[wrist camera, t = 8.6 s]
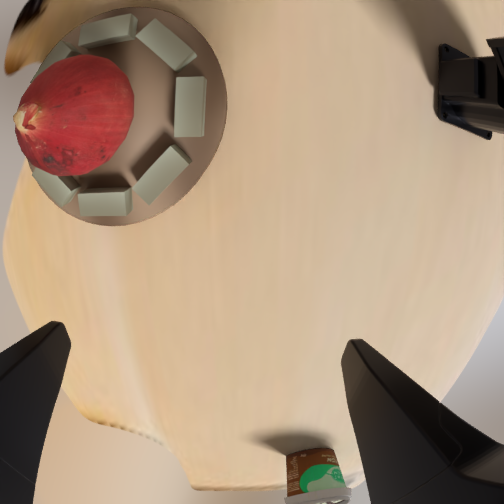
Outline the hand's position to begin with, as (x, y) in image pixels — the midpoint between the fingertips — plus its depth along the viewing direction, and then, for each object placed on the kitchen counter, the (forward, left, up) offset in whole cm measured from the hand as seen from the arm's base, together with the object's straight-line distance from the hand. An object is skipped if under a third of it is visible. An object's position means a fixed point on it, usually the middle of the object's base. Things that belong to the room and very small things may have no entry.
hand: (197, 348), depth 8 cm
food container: (-15, +38, -12) cm, 43 cm away
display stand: (+7, -7, -12) cm, 15 cm away
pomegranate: (+7, -7, -10) cm, 14 cm away
